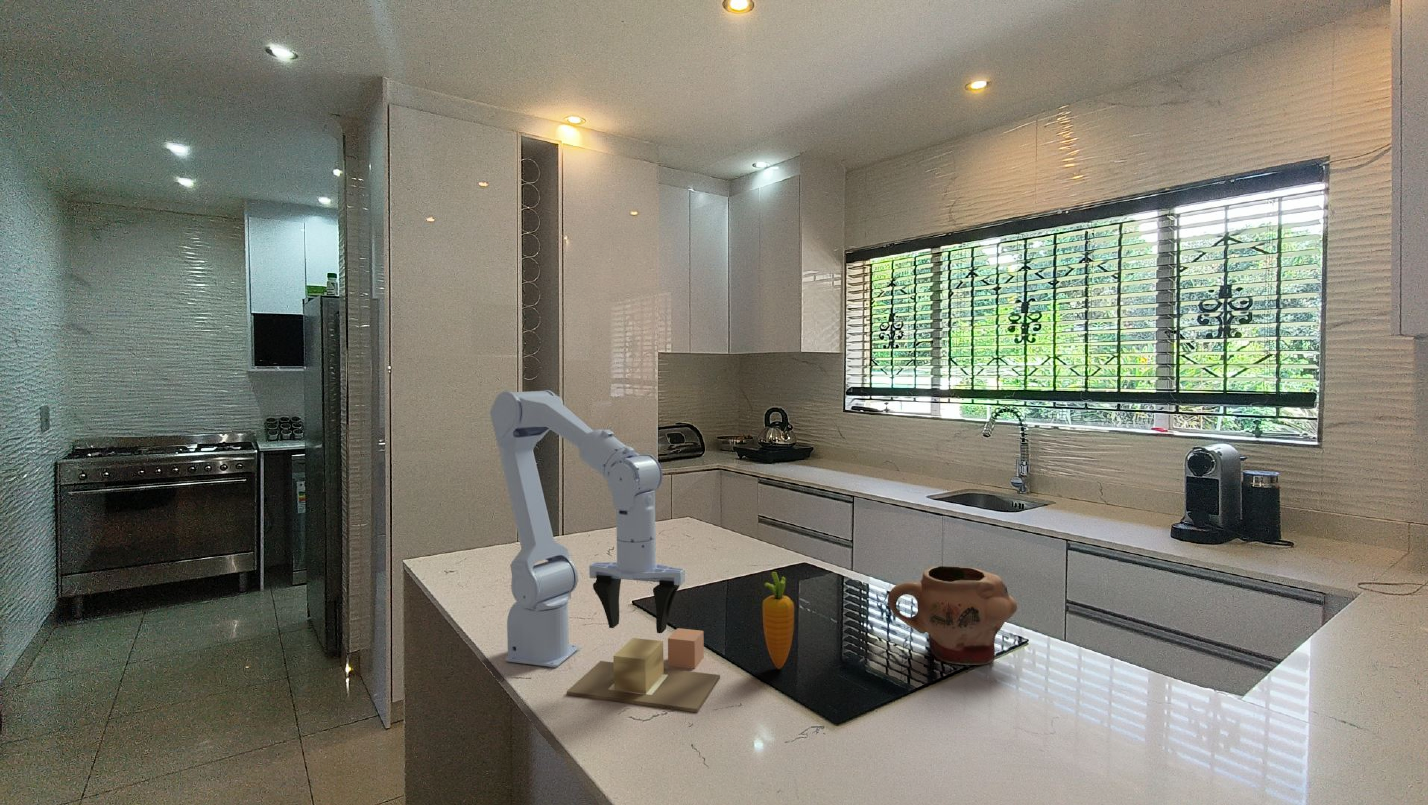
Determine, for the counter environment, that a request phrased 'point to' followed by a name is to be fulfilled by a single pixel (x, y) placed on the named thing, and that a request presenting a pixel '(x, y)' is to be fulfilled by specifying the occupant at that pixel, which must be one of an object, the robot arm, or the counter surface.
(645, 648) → the oak block
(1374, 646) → the counter surface
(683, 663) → the terracotta cube
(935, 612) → the brown clay mug
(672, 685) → the brown wooden board
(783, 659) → the carrot
